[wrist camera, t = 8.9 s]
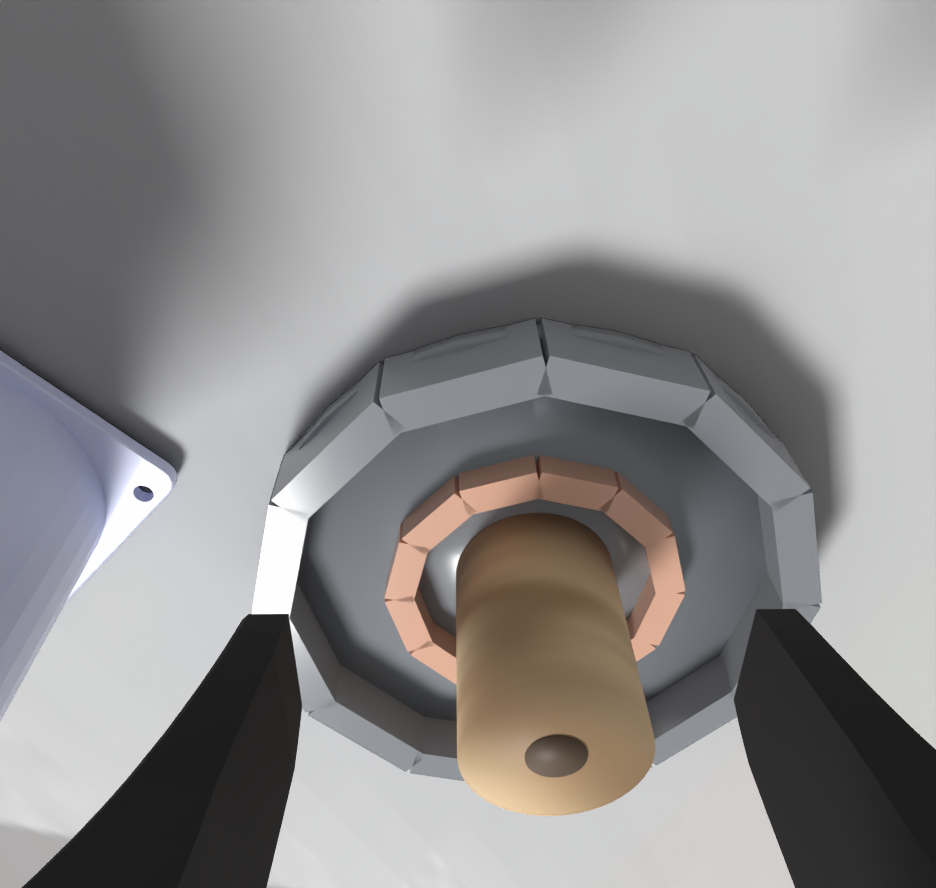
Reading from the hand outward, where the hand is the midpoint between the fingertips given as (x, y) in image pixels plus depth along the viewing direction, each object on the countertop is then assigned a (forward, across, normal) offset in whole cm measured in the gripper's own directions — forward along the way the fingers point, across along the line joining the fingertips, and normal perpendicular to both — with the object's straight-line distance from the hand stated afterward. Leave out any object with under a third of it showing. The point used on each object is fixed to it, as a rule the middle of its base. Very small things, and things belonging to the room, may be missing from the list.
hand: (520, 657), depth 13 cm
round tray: (+9, -1, +6) cm, 11 cm away
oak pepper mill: (+9, -1, +6) cm, 11 cm away
